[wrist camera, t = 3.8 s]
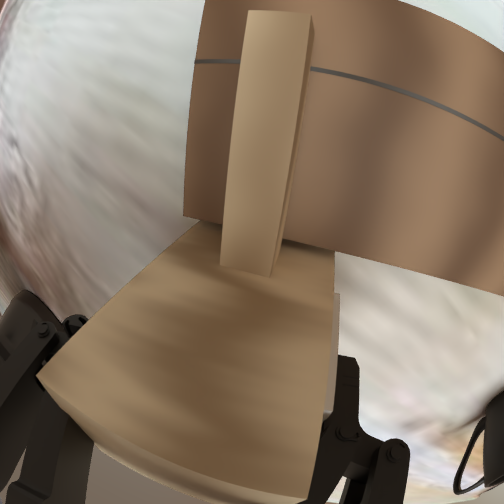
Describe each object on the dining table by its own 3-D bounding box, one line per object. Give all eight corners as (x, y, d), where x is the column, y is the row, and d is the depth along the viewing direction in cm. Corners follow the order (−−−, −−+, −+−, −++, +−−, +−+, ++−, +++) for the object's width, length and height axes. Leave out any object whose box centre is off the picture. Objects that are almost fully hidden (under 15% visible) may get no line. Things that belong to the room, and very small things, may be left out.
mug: (437, 425, 19) (440, 502, 11) (530, 363, 13) (555, 440, 4) (459, 438, 19) (463, 500, 11) (537, 387, 13) (554, 449, 5)
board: (200, 204, 15) (182, 216, 13) (224, -4, 9) (208, -18, 7) (555, 300, 10) (566, 316, 8) (599, 162, 4) (614, 169, 2)
